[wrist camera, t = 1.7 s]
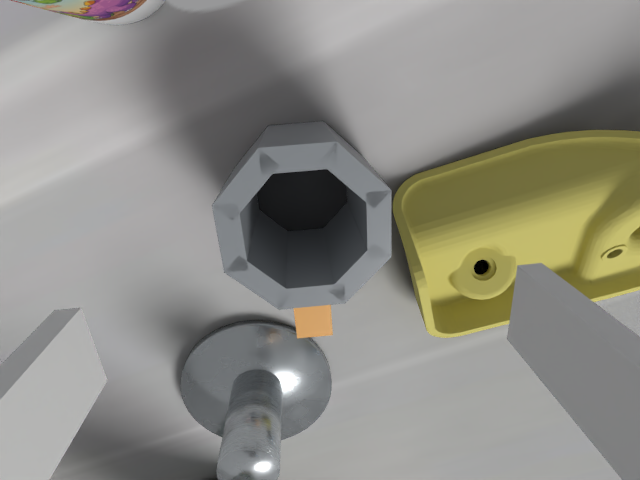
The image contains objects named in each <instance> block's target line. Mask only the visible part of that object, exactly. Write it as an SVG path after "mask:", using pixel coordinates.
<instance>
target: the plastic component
mask: <svg viewBox="0 0 640 480" xmlns="http://www.w3.org/2000/svg"><path fill="white" fill-rule="evenodd" d="M393 214H394V218H395V221H396V224H397V227H398V230H399V233H400V236H401V240H402V243H403V246H404V250H405V253H406V257H407V261H408V265H409V269H410V274H411V278H412V283H413V287H414V292H415V296H416V300H417V303H418V306H419V309H420V312H421V315H422V318H423V321H424V324H425V327H426V330H427V331H428V333H429V334H431V335H433V336H436V337H443V338H448V337H457V336H462V335H466V334H470V333H474V332H478V331H482V330H485V329H489V328H493V327H497V326H501V325H505V324H509V321H510V314H511V307H512V300H513V293H514V286H515V279H516V272H517V265H525V264H536V263H542V264H544V265H545V266H546V267H548V268H549V269H550V270H552V271H553V272H554V273H556V274H557V275H558V276H560V277H561V278H562V279H564V280H565V281H566V282H568V283H569V284H570V285H572V286H573V287H574V288H576V289H577V290H578V291H580V292H581V293H582V294H584V295H585V296H586V297H588V298H589V299H590V300H592V301H593V302H596V301H600V300H604V299H608V298H611V297H615V296H619V295H623V294H627V293H630V292H634V291H638V290H640V132H639V131H627V130H585V131H572V132H563V133H557V134H550V135H545V136H540V137H535V138H530V139H526V140H523V141H520V142H516V143H513V144H510V145H507V146H504V147H501V148H497V149H494V150H491V151H488V152H485V153H481V154H478V155H475V156H472V157H469V158H466V159H462V160H459V161H456V162H453V163H450V164H447V165H443V166H440V167H437V168H434V169H431V170H428V171H424V172H421V173H418V174H415V175H413V176H412V177H410V178H409V179H407V180H406V181H405V182H404V183H403V184H402V185H401V186H400V187H399V189H398V190H397V192H396V194H395V196H394V200H393ZM479 260H486V261H487V263H488V265H489V267H488V270H487V272H485V273H484V274H476V273H475V271H474V265H475V263H476V262H477V261H479Z"/></svg>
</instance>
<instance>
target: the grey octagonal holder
mask: <svg viewBox="0 0 640 480" xmlns="http://www.w3.org/2000/svg"><path fill="white" fill-rule="evenodd" d="M323 169H328V170H329V171H330V172H331V173H332V174H333V175H335V176H336V177H337V178H338V179H339V180H341V181H342V182H343V183H344V184H345V185H346V189H347V203H346V204H345V205H344V206H343V207H342V208H341V209H340V210H339V212H338V213H337V214H336V215H335V216H334V217H333V218H332V219H331V220H330V221H329V222H328V224H327V225H326V226H325V227H324V228H321V229H309V230H298V231H286V230H285V229H284V228H283V227H281V226H280V225H279V224H277V223H276V222H275V221H273V220H272V219H271V218H269V217H268V216H267V215H266V214H264V213H263V212H262V211H260V210H259V204H258V197H257V192H258V191H259V190H260V188H261V187H262V186H263V185H264V184H265V182H266V181H267V180H268V179H269V177H270V176H271V175H272V174H275V173H287V172H299V171H311V170H323ZM391 191H392V190H391V189H390V188H389V187H388V185H387V184H386V183H385V182H384V181H383V180H382V178H381V177H380V176H379V175H378V174H377V172H376V171H375V170H374V169H373V168H372V167H371V165H370V164H369V163H368V162H367V161H366V159H365V158H364V157H363V156H362V155H361V154H359V153H358V152H357V151H356V150H355V149H354V148H353V147H352V146H351V145H349V144H348V143H347V142H346V141H345V140H344V139H343V138H342V137H341V136H339V135H338V134H337V133H336V132H335V131H334V130H333V129H332V128H331V127H329V126H328V125H327V124H326V123H325V122H324V121H319V122H307V123H294V124H281V125H269V126H267V128H266V129H265V130H264V131H263V133H262V134H261V135H260V136H259V138H258V139H257V140H256V142H255V143H254V144H253V145H252V147H251V148H250V149H249V150H248V152H247V153H246V154H245V155H244V157H243V158H242V159H241V160H240V162H239V163H238V164H237V165H236V167H235V168H234V170H233V171H232V173H231V175H230V176H229V178H228V180H227V181H226V183H225V185H224V186H223V188H222V190H221V191H220V193H219V195H218V196H217V198H216V200H215V201H214V203H213V205H212V209H213V214H214V220H215V225H216V230H217V236H218V241H219V247H220V252H221V258H222V263H223V268H224V273H226V274H227V275H229V276H230V277H232V278H233V279H235V280H236V281H238V282H239V283H241V284H242V285H244V286H245V287H246V288H248V289H249V290H251V291H252V292H254V293H255V294H257V295H258V296H260V297H261V298H263V299H264V300H266V301H267V302H269V303H270V304H271V305H273V306H274V307H276V308H277V309H279V310H281V309H291V308H294V315H295V324H296V333H297V338H307V337H317V336H328V335H333V332H332V318H331V305H333V304H344V303H346V302H347V301H348V300H349V299H350V298H351V297H352V296H353V295H354V294H355V293H356V292H357V291H358V290H359V289H360V288H361V287H362V286H363V285H364V284H365V283H366V282H367V281H368V280H369V279H370V278H371V277H372V276H373V275H374V274H375V273H376V272H377V271H378V270H379V269H380V268H381V267H382V266H383V265H384V264H385V263H386V262H387V261H388V260H389V259H390V258H391Z"/></svg>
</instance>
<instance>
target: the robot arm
mask: <svg viewBox="0 0 640 480" xmlns="http://www.w3.org/2000/svg"><path fill="white" fill-rule="evenodd" d="M507 340H508V341H509V342H510V343H511V344H512V346H513V347H514V348H515V349H516V351H517V352H518V353H519V354H520V355H521V357H522V358H523V359H524V360H525V362H526V363H527V364H528V365H529V366H530V368H531V369H532V370H533V371H534V373H535V374H536V375H537V376H538V377H539V379H540V380H541V381H542V382H543V384H544V385H545V386H546V387H547V388H548V390H549V391H550V392H551V393H552V395H553V396H554V397H555V398H556V399H557V401H558V402H559V403H560V404H561V406H562V407H563V408H564V409H565V410H566V412H567V413H568V414H569V415H570V417H571V418H572V419H573V420H574V421H575V423H576V424H577V425H578V426H579V427H580V429H581V430H582V431H583V432H584V434H585V435H586V436H587V437H588V438H589V440H590V441H591V442H592V443H593V445H594V446H595V447H596V448H597V449H598V451H599V452H600V453H601V454H602V456H603V457H604V458H605V459H606V460H607V462H608V463H609V464H610V465H611V467H612V468H613V469H614V470H615V471H616V473H617V474H618V475H619V476H620V478H621V479H622V480H640V337H639V336H638V335H637V334H635V333H634V332H633V331H631V330H630V329H629V328H627V327H626V326H625V325H623V324H622V323H621V322H619V321H618V320H617V319H615V318H614V317H613V316H611V315H610V314H609V313H607V312H606V311H605V310H603V309H602V308H601V307H599V306H598V305H597V304H595V303H594V302H593V301H592V300H590V299H589V298H588V297H586V296H585V295H584V294H582V293H581V292H580V291H578V290H577V289H576V288H574V287H573V286H572V285H570V284H569V283H568V282H566V281H565V280H564V279H562V278H561V277H560V276H558V275H557V274H556V273H554V272H553V271H552V270H550V269H549V268H548V267H546V266H545V265H544V264H542V263H536V264H525V265H517V272H516V279H515V286H514V293H513V300H512V307H511V314H510V321H509V328H508V336H507ZM106 382H107V378H106V375H105V373H104V370H103V367H102V364H101V361H100V359H99V356H98V353H97V350H96V347H95V345H94V342H93V339H92V336H91V334H90V331H89V328H88V325H87V322H86V320H85V317H84V314H83V311H82V308H72V309H62V310H54V311H53V312H52V313H51V314H50V315H49V316H48V317H47V318H46V319H45V320H44V322H43V323H42V324H41V325H40V326H39V327H38V328H37V329H36V330H35V331H34V332H33V333H32V334H31V335H30V336H29V337H28V338H27V339H26V340H25V341H24V342H23V343H22V344H21V345H20V346H19V347H18V348H17V349H16V350H15V351H14V352H13V353H12V354H11V355H10V356H9V357H8V358H7V359H6V360H5V361H4V362H3V363H2V364H1V365H0V480H50V478H51V476H52V475H53V473H54V471H55V469H56V468H57V466H58V464H59V463H60V461H61V459H62V457H63V456H64V454H65V452H66V451H67V449H68V447H69V445H70V444H71V442H72V440H73V439H74V437H75V435H76V434H77V432H78V430H79V428H80V427H81V425H82V423H83V422H84V420H85V418H86V416H87V415H88V413H89V411H90V410H91V408H92V406H93V405H94V403H95V401H96V399H97V398H98V396H99V394H100V393H101V391H102V389H103V387H104V386H105V384H106Z"/></svg>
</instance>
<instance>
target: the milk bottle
mask: <svg viewBox="0 0 640 480" xmlns="http://www.w3.org/2000/svg"><path fill="white" fill-rule="evenodd" d="M11 1H15V2H19V3H22V4H26V5H30V6H34V7H37V8H41V9H45V10H49V11H53V12H57V13H61V14H64V15H68V16H72V17H76V18H80V19H84V20H88V21H92V22H97V23H103V24H109V25H126V24H131V23H135V22H138V21H141V20H143V19H145V18H147V17H148V16H150V15H151V14H153V13H154V12H155V11H156V10H157V9H159V8H160V7H161V5H162V4H163V3H164V2H165V0H11Z"/></svg>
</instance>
